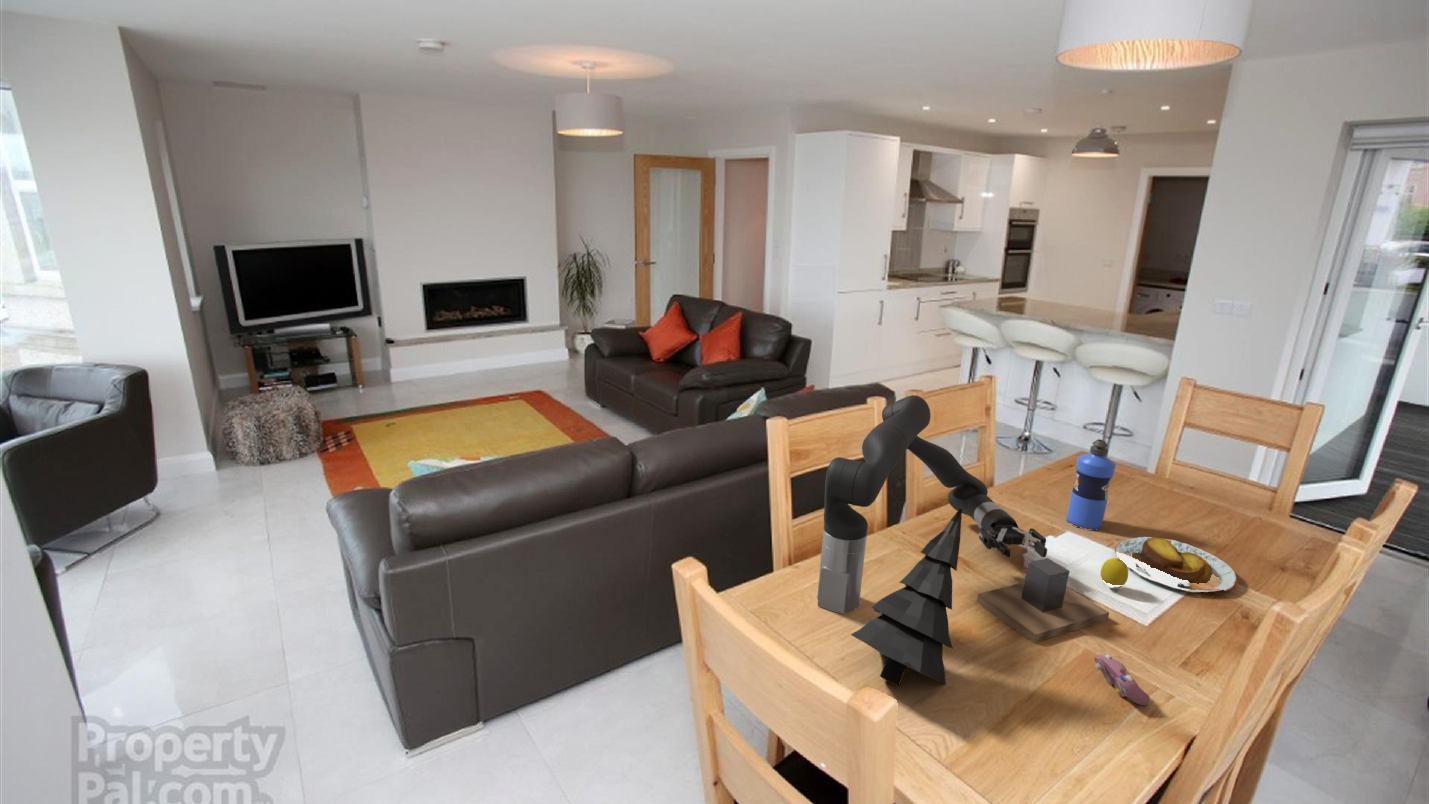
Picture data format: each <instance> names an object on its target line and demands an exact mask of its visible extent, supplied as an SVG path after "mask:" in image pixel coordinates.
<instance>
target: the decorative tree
mask: <svg viewBox="0 0 1429 804" xmlns="http://www.w3.org/2000/svg"><path fill="white" fill-rule="evenodd" d="M962 515H963V514H962V508H961V509H959V510H958V511H957V512H956V513H955V514H954V515H953V516H952V518H950V520H949V522H948V523H947V525H946V526H945V528H944V529H943V530H942V531H941V532H939V533H938V534H937V535H936V536H934V537H932V539H931V540H930V541H929V542H927V544H926V545H925V546H924V547H923V548H922V550H921V551H920V553H921V554H923V555H925V556H923V558H922V559H921V560H919V561H918V562H917V563H916V564H915V565H914V567H913V568H912V569H910V571H909V573H907V574H906V575H905V576H904V577H903V578H902V579H901V580H900V581H898V583H899V584H902V585H904V587H902V588H899V589H898V590H895V591H894V592H891V593H890V594H888V595H886V596H884V597H882V598H881V599H879V600H878V601H877V602H876V603H874V604H873V605H872V606H870V608H871V610H873V611H874V612H876V613H879V615H878V616H877V617H874V618H872V619H871V620H869V621H868V622H866V623H865V625H863V626H862V627H861V628H859V629H858V630H857V631H854V632H853V633H851V634H850V635H851V636H852V637H854V638H855V639H857V640H859V641H861V642H862V643H864V644H866V645H867V646H869V647H871V648H872V649H874V650H876V651H877V652H878V653H880V654H881V655H884V656H886V657H887V659H886V661H885V663H884V666H883V667H882V670H881V673H880V674H879V677H880V678H882V679H883V680H885V681H887V682H888V683H891V684H893V685H894V686H897V687H899V686H900V683H901V682H902V678H903V676H904V675H905V672H906V669H907V667H908V668H910V669H912V670H914V671H915V672H918V673H919V674H922V675H924V676H927V677H929V678H931V679H933V680H935V681H936V682H939V683H941V684H944V685H947V684H946V669H945V665H944V660H943V657H944V655H943V653H944V651H943V645H944V646H945V647H947V648H950V649H951V650H954V646H953V644H952V640H951V637H950V632H949V619H948V614H947V613H948V612H947V609H949V610H953V578H952V570H951V569H953V570H954V571H956V572H957V571H958V562H959V553H960V545H961V531H962V530H961V529H962Z"/></svg>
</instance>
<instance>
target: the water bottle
mask: <svg viewBox="0 0 1429 804" xmlns="http://www.w3.org/2000/svg"><path fill="white" fill-rule="evenodd" d="M1091 444H1092V445H1090V449H1089V453H1087V454H1081V455H1079V456H1078V457H1077V460H1076V466H1075V482H1074V485H1073V487H1072V490H1071V493H1070V499H1069V503H1068V508H1067V512H1066V513H1067V514H1066V518H1065V520H1066V519H1067V520H1066V522H1067V521H1068V522H1069V523H1071V524H1073V525H1075V526H1077V527H1076V528H1078V527H1082V528H1086V529H1092V530H1091V531H1097V530H1096V529H1099V530H1101V529H1102V528H1101V527H1103V522H1104V519H1105V515H1106V514H1105V512H1106V509H1107V504H1108V498H1109V497H1108V496H1109V488H1110V484H1111V482H1112V478H1113V477H1114V475H1115V471H1116V467H1117V464H1116V462H1115V461H1114V460H1111V458H1108V457H1107V455H1108V452H1109V449H1108V448H1107V447H1109V445H1108V443H1107V442H1106V441H1105V440H1104V439H1096V440H1094V441H1093V442H1092V443H1091ZM1068 522H1067V523H1068ZM1069 523H1068V524H1069ZM1071 524H1070V525H1071ZM1073 525H1072V526H1073ZM1075 526H1074V527H1075ZM1100 528H1101V529H1100Z"/></svg>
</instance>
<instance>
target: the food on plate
mask: <svg viewBox="0 0 1429 804" xmlns="http://www.w3.org/2000/svg"><path fill="white" fill-rule="evenodd" d="M1114 551H1117V552H1119V553H1124V554H1126V555H1129V556H1131V554H1132V557H1133V558H1135V559H1138V560H1139V561H1141V562H1144V563H1146V564H1147V565H1150V567H1151V568H1156V569H1158V570H1160V571H1163V572H1165V573H1167V574H1170V575H1171V576H1173V577H1177V578H1179V579H1182V580H1188V581H1189V582H1190V583H1197V584H1199V583H1207V582H1208V581H1209V580H1210V578H1211V575H1212V574H1214V575H1215V576H1216V577H1219V579H1220V580H1221V582H1220V584H1219V586H1217V587H1214V589H1206V590H1197V589H1196V590H1189V591H1187V593H1201V592H1203V593H1208V592H1217V591H1218V592H1219V591H1222V590H1223V591H1224V592H1227V591H1230V590H1231V589H1233V588H1234V587H1235V586H1236V587H1237V584H1238V581H1239V580H1238V577H1237V574H1236V572H1235V571H1234V570H1233V567H1231V566H1230V565H1229V564H1228V563H1226V562H1225V561H1224V560H1223V559H1220V558H1219V557H1218V556H1216V555H1214V554H1213V553H1210V552H1208V551H1205V550H1203V549H1201V548H1198V547H1195V546H1193V545H1190V544H1189V543H1186V542H1185V543H1184V542H1181V541H1178V540H1175V539H1168V538H1162V537H1153V536H1139V537H1133V538H1128V539H1124V540H1122V541H1120V542H1119V543H1117V544H1116V546H1115V547H1114ZM1236 587H1235V588H1236Z"/></svg>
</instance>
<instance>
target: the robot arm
mask: <svg viewBox="0 0 1429 804" xmlns="http://www.w3.org/2000/svg"><path fill="white" fill-rule="evenodd" d="M931 414H932V413H931V409H930V405H929V404H928V403H927V401H926V400H925V399H924V398H923V397H921V396H919V395H917V394H916V395H915V394H914V395H913V394H912V395H907V396H906V397H903V398H901V399H898V400H895V401H894V402H892V403H889V404H887V405H886V406H885V407H883V409H882V411H881V418H882V419H881V420H882V422H880V423H878V424H877V425H876V426H875V427H873V428H872V429H871V430H870V432H869V433H868V434H867V435H866V436H865V438H864V439H863V442H862V445H861V453H862V457H863V459H864V461H861V460H855V459H850V458H846V457H839V456H838V457H835V458H833V459H831V460H830V461H831V462H830V463H829V464H828V466H827V470H826V473H825V481H824V482H825V483H824V505H823V506H824V509H823V531H822V541H821V543H822V544H821V554H820V564H819V573H818V574H819V577H818V586H817V595H816V596H817V597H816V598H817V606H818V607H821V608H824V609H826V610H829V611H831V612H832V611H833V612H835V613H838V614H840V615H845V614H846V613H848V612H852V611H855V610H857V608H858V607H859V606H860V600H861V593H862V592H861V590H862V581H863V573H864V563H865V555H866V547H867V545H866V544H867V536H868V529H869V528H868V527H869V526H868V525H869V523H868V520H867V518H865V516H863V515H862V514H861V513H860V512H858V511H856V510H855V509H854V508H853V507H851V505H852V506H856V507H861V508H865V507H870V506H871V505H873V504H874V502H875V501H876V499H877V498H878V496H879V494H880V493H881V490H882V489H883V487H884V485H885V483H886V480H887V478H888V477H889V475H890V473H892V471H893V469H894V468H895V467H896V465H897V464H898V463H899V461H900V460H901V459H902V457H903V456H904V455H905V453H906V451H909V452H911V453H912V454H913V455H914V456H915V457H917V458H918V459H919V460H920V461H921V462H922V463H923V464H924V465H925V466H926V467H928V469H929V470H930V471H931V472H932V474H933V475H934V476H935V477H936V478H937V480H938V481H939V482H940V483H941V484H942V486H944V487H945V488H948V489H951V490H950V491H949V492H948V495H947V501H948V503H949V505H950V506H951V508H953V509H954V510H955V511H957V512H958V510H959V509H961V508H962V515H966V516H969V518H971V519H972V520H973V521H974V522H975V523H976V524H977V526H978V528H979V534H978V539H979V540H980V541H981V543H982V544H983V545H984V546H985V549H988V550H992V548H993V549H994V550H996V551H998V552H999V553H1000V554H1001V555H1002V556H1004V557H1005V558H1010V557H1011V554H1012V550H1011V548H1010V546H1012V545H1014V546H1019V547H1020V548H1021V547H1022V548H1024V549H1028V548H1029V549H1032V550H1034V552H1036V554H1037V555H1038V556H1039V557H1040V558H1046V557H1047V555H1048V548H1047V547H1046V543H1047V538H1046V537H1044V536H1043V534H1041V533H1039V532H1038V530H1036V529H1035V528H1029V531H1025V530H1023V529H1021V528H1020V527H1019V525H1018V522H1017V521H1016V520H1015V518H1013V516H1012V515H1010V514H1009V513H1008V512H1007V511H1006V510H1005V509H1003V508H1002V507H1001V506H1000V505H999V504H997V503H996V502H994V500H993V499H991V498H990V497H989V496H988V492H989V491H988V488H987V485H986V484H985V483H984V482H983V481H981V479H979V478H977V477H976V476H974V475H973V474H972V473H969V472H968V471H967V470H966V469H965V468H964V467H963V466H962V465H961V463H960V462H959V461H958V460H957V459H956V457H955V456H954V455H953V454H952V453H951V452H950V451H949V450H947V449H945V448H944V447H943V446H939V445H937V444H935V443H933V442H930V441H927V440H925V439H924V438H922V437H920V436H919V434H920V433H922V431H924V429H927V427H928V426H929V424H930V421H931V417H932V416H931ZM1024 539H1025V541H1024ZM1031 542H1032V543H1033V544H1032V543H1031Z"/></svg>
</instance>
